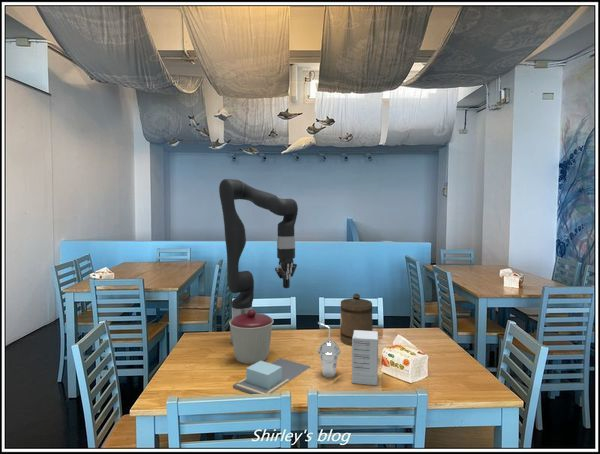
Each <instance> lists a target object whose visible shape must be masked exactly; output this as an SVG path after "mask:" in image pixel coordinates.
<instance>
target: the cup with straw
mask: <svg viewBox="0 0 600 454" xmlns="http://www.w3.org/2000/svg"><path fill="white" fill-rule="evenodd" d="M317 324H318V325H320V326H322V327H325V328H327V329H328V339H327V340H324V341H323V342H322V343H321V345H320V346H319V347H318V349H317V354H319V357H320V363H321V372H322V373H321V374H322V376H323V377H325V378H333V377H335V376H336V371H337V366H338V365H337V364H338V360H339V355H340V354H341V349H340V348H339V346H338V344H337V343H336V342H335V341H333V340H331V327H330V326H329V325H326V324H324V323H322V322H320V321H318V322H317Z"/></svg>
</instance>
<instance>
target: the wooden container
mask: <svg viewBox="0 0 600 454" xmlns="http://www.w3.org/2000/svg"><path fill="white" fill-rule="evenodd" d="M339 328H340V331H339V332H340V333H339V334H340V339H339V340H340V341H341V343H343V344H345V345H349V346H352V337H353V334H354V330H361V331H373V302H372V301H371V300H368V299H364V298H361V294H359V293H354V294H353V295H352V298H345V299H342V300H340V324H339Z"/></svg>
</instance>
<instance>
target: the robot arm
mask: <svg viewBox="0 0 600 454" xmlns="http://www.w3.org/2000/svg"><path fill="white" fill-rule="evenodd" d="M218 191H219V192H218V193H219V198H220V199H219V200H220V205H221V210H222V217H223V218H222V219H223V225H224V227H223V228H224V240H225V248H226V262H227V263H226V268H227V270H226V282H227V288H228V289H229V291H230V292H231V293H232V294H238V293H239V294H238V295H237V296H236V297H235V298H234V299H232V300H231V319H233V318H234V317H236V316H238V315H241V314H247V312H248V311H249V310H253V301H254V295H255V294H254V293H255V292H254V291H255V290H254V288H255V279H254V276H253V273H252V272H251V271H249V270H242V271H241V270H240V271H239V263H240V259H241V256H242V254H243V251H244V249H245V247H246V243H247V235H246V228H245V225H244V222H243V221H242V219H241V217H240V215H239V213H238V212H237V210H236V206H235V201H236V200H237V201H238V200H242V201H243V200H245V201H249V202H250V203H252V204H254V206H257V207H259V208H261V209H264V210H267V211H268V212H271V213H272V214H274V215H276V216H279V217H283V219H282V221H280V222H278V223H277V240H276V256H277V257H276V258H278V260H279V261H278V266H277V267H275V268H274V271H275V272H276V275H277V276H278V278H279V279H282V286H283V288H284V289H289V288H290V283H291V278H292V277H294V274H295V271H296V269H297V267H298V265H297V263H294V262H295V261H294V259H296V238H295V225H296V221H297V217H298V212H299V207H298V204H297V201H296V200H295V199H293V198H281V197H280V198H279V197H278V196H277V195H276V194H274V193H271V192H268V191H263V190H261V189H257V188H255V187H253V186H251V185H249V184H247V183H246V182H244V181H242V180H239V179H232V178H224V179H222V180H221V181H220V183H219V187H218ZM229 326H230V325H229ZM230 344H232V345H233V338H232V331H231V326H230Z"/></svg>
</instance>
